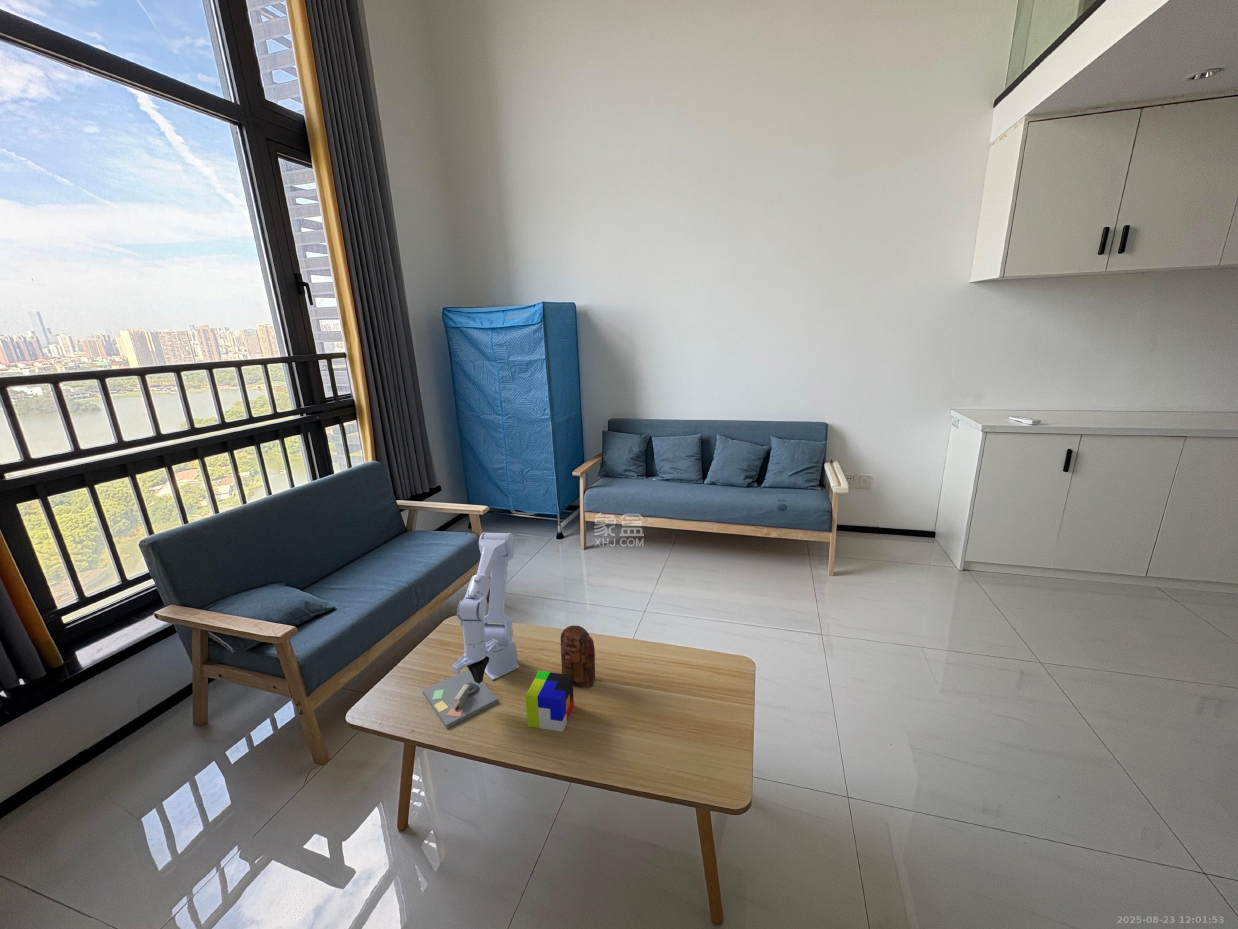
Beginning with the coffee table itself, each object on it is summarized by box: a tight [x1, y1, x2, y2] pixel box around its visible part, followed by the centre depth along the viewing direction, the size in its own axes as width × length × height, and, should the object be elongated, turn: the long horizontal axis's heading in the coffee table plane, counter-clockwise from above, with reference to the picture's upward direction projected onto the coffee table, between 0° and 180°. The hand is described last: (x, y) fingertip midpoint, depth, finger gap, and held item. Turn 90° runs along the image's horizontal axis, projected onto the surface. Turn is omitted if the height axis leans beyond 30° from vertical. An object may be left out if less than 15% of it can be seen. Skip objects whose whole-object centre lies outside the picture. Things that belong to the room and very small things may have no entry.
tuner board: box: [422, 668, 498, 729], centre depth 143 cm, size 15×18×1 cm
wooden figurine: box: [560, 625, 596, 689], centre depth 148 cm, size 12×6×18 cm, turn 72°
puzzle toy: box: [525, 670, 575, 733], centre depth 135 cm, size 10×10×10 cm
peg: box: [454, 683, 477, 710], centre depth 141 cm, size 10×4×3 cm, turn 170°
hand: (478, 681), depth 139 cm, fingers closed
